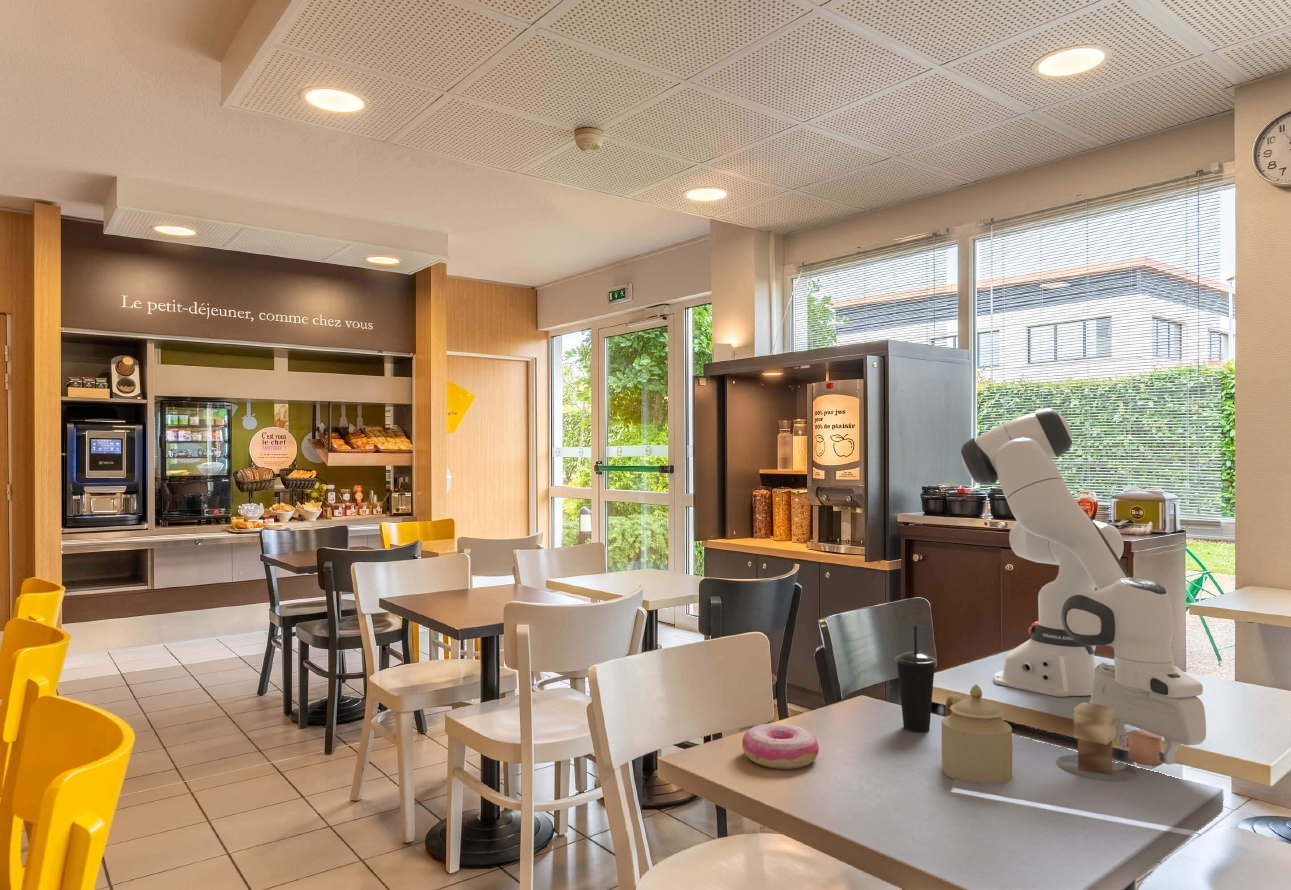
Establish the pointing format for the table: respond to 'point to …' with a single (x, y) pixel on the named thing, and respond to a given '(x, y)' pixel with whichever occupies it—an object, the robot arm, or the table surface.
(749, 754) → the donut
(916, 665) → the drinking cup
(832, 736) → the table surface
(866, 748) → the table surface
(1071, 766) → the slate coaster
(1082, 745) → the walnut cube
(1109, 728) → the beech cube
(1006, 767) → the sugar bowl
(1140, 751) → the terracotta cylinder
